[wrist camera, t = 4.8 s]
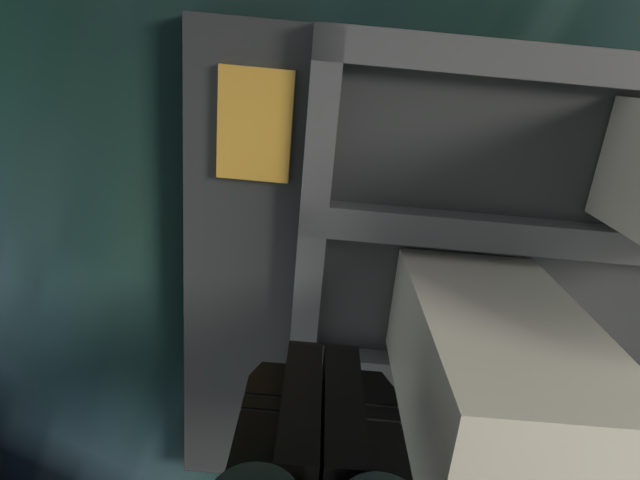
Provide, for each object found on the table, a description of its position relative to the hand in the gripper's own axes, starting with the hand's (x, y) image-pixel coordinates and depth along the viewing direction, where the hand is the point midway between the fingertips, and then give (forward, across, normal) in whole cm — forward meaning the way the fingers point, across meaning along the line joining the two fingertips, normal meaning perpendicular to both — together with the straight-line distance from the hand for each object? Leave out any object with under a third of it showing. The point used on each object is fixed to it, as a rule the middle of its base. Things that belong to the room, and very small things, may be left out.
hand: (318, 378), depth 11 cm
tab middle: (+5, -4, 0) cm, 6 cm away
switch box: (+6, -6, 0) cm, 8 cm away
